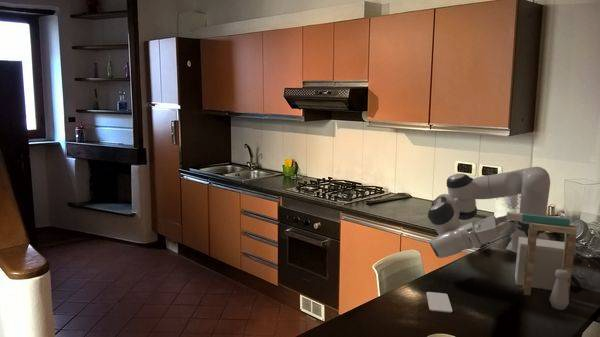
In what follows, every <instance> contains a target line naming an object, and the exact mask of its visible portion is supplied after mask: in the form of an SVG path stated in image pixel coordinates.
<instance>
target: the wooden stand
mask: <svg viewBox="0 0 600 337" xmlns="http://www.w3.org/2000/svg"><path fill="white" fill-rule="evenodd" d="M538 230H540V231H546V232H550V233H559V234H565V237H564V242H565V245H564V253H563V262H562V269H563V270H566V271H568V272H569V273H570V276H569V278H568V279H567V283H568V295H569V296H570V289H571V280H572V275H573V274H572V272H573V265H574V257H575V247H576V241H577V231H578V228H577V226H576V225H575V224H574V223H570V225H569V226H559V225H550V224H541V223H532V222H530V224H529V233H528V243H527V252H526V261H525V270H524V280H523V286H522V290H523V296H525V295H527V296H531V291H532V287H531V285H532V276H533V267H534V258H535V249H536V240H537V231H538Z"/></svg>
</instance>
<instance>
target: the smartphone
mask: <svg viewBox="0 0 600 337" xmlns="http://www.w3.org/2000/svg"><path fill="white" fill-rule="evenodd" d="M426 298H427V303H428V308H429V310H430V311H431V312H442V313H449V314H451V313H452V312H453V308H452V305H451V302H450V298H449V296H448V293H442V292H433V291H427V292H426Z"/></svg>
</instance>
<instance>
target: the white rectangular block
mask: <svg viewBox="0 0 600 337" xmlns="http://www.w3.org/2000/svg"><path fill="white" fill-rule="evenodd" d="M527 243H528V238H525V237H519V240H518V249H517V253H516V260H515V270H514V278H515V279H514V280H515V284H516V286H522V287H523V280H524V270H525V261H526V252H527ZM564 245H565V241H557V240H550V239H548V240H542V239H537V240H536V249H535V258H534V267H533V276H532V285H531V288H535V289H541V288H542V289H543V290H548V291H552V290H553V287H554V284H555V281H556V278H557V277H556V276H555V271H556V270H557V269H562V262H563V253H564Z"/></svg>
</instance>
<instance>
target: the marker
mask: <svg viewBox="0 0 600 337" xmlns="http://www.w3.org/2000/svg"><path fill="white" fill-rule="evenodd" d="M506 215H507V220H508V221H515V222H518V221H523V222H532V223H541V224H550V225H559V226H569V225H570V224H571V219H570V217H560V216H552V215H551V216H549V215H546V216H542V215H533V214H523V213H519V212H512V211H506Z"/></svg>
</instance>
